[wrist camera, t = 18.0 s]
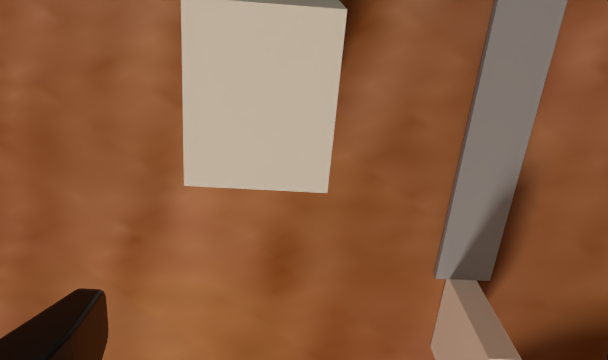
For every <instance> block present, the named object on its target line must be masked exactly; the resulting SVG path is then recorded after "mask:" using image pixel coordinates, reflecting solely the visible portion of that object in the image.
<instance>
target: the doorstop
mask: <svg viewBox="0 0 608 360" xmlns="http://www.w3.org/2000/svg"><path fill="white" fill-rule="evenodd" d="M346 17H347V9H346V7H345V6H344V5H343V4H342V3H341V2H340V1H339V0H181V31H182V91H183V150H184V186H199V187H218V188H238V189H257V190H277V191H296V192H316V193H327V191H328V182H329V173H330V163H331V154H332V145H333V136H334V127H335V118H336V109H337V99H338V90H339V81H340V72H341V63H342V54H343V45H344V36H345V26H346Z"/></svg>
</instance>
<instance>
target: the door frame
mask: <svg viewBox="0 0 608 360" xmlns="http://www.w3.org/2000/svg"><path fill="white" fill-rule="evenodd" d="M566 4H567V0H494V5H493V9H492V14H491V18H490V23H489V27H488V32H487V36H486V41H485V45H484V50H483V55H482V59H481V64H480V68H479V73H478V77H477V82H476V86H475V91H474V95H473V100H472V104H471V109H470V113H469V118H468V122H467V127H466V131H465V136H464V140H463V145H462V149H461V154H460V158H459V163H458V167H457V172H456V176H455V181H454V185H453V190H452V194H451V199H450V203H449V208H448V212H447V217H446V221H445V226H444V230H443V235H442V239H441V244H440V248H439V253H438V257H437V262H436V266H435V271H434V276H435V279H446V282H445V287H444V291H443V295H442V299H441V304H440V308H439V312H438V316H437V321H436V325H435V329H434V333H433V338H432V342H431V346H430V347H431V349H432V352H433V355H434V357H435V360H522V359H521V357H520V355H519V354H518V352H517V350H516V348H515V347H514V345H513V343H512V341H511V340H510V338H509V336H508V335H507V333H506V331H505V329H504V328H503V326H502V324H501V322H500V321H499V319H498V317H497V315H496V314H495V312H494V310H493V308H492V307H491V305H490V303H489V301H488V300H487V298H486V296H485V294H484V293H483V291H482V289H481V288H480V286H479V284H478V282H477V281H476V280H481V281H490V279H491V275H492V271H493V268H494V264H495V261H496V257H497V253H498V250H499V246H500V242H501V239H502V235H503V232H504V228H505V224H506V221H507V217H508V214H509V210H510V206H511V203H512V199H513V195H514V192H515V188H516V185H517V181H518V177H519V174H520V170H521V167H522V163H523V159H524V156H525V152H526V149H527V145H528V141H529V138H530V134H531V130H532V127H533V123H534V120H535V116H536V112H537V109H538V105H539V102H540V98H541V94H542V91H543V87H544V84H545V80H546V76H547V73H548V69H549V65H550V62H551V58H552V55H553V51H554V47H555V44H556V40H557V37H558V33H559V29H560V26H561V22H562V19H563V15H564V11H565V8H566Z"/></svg>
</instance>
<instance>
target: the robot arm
mask: <svg viewBox="0 0 608 360" xmlns="http://www.w3.org/2000/svg"><path fill="white" fill-rule="evenodd" d="M107 339H108V317H107V305H106V296H105V293H104V292H103V291H102V290H100V289H83V288H82V289H77V290H75V291H73V292H72V293H70V294H69V295H67V296H66V297H64V298H63V299H61V300H59V301H58V302H56V303H55V304H53V305H52V306H50V307H49V308H47V309H46V310H44V311H42V312H41V313H39V314H38V315H36V316H35V317H33V318H32V319H30V320H29V321H27V322H25V323H24V324H22V325H21V326H19V327H18V328H16V329H15V330H13V331H12V332H10V333H8V334H7V335H5V336H4V337H2V338H1V339H0V360H102V358H103V354H104V351H105V347H106V344H107ZM607 360H608V355H607Z"/></svg>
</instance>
